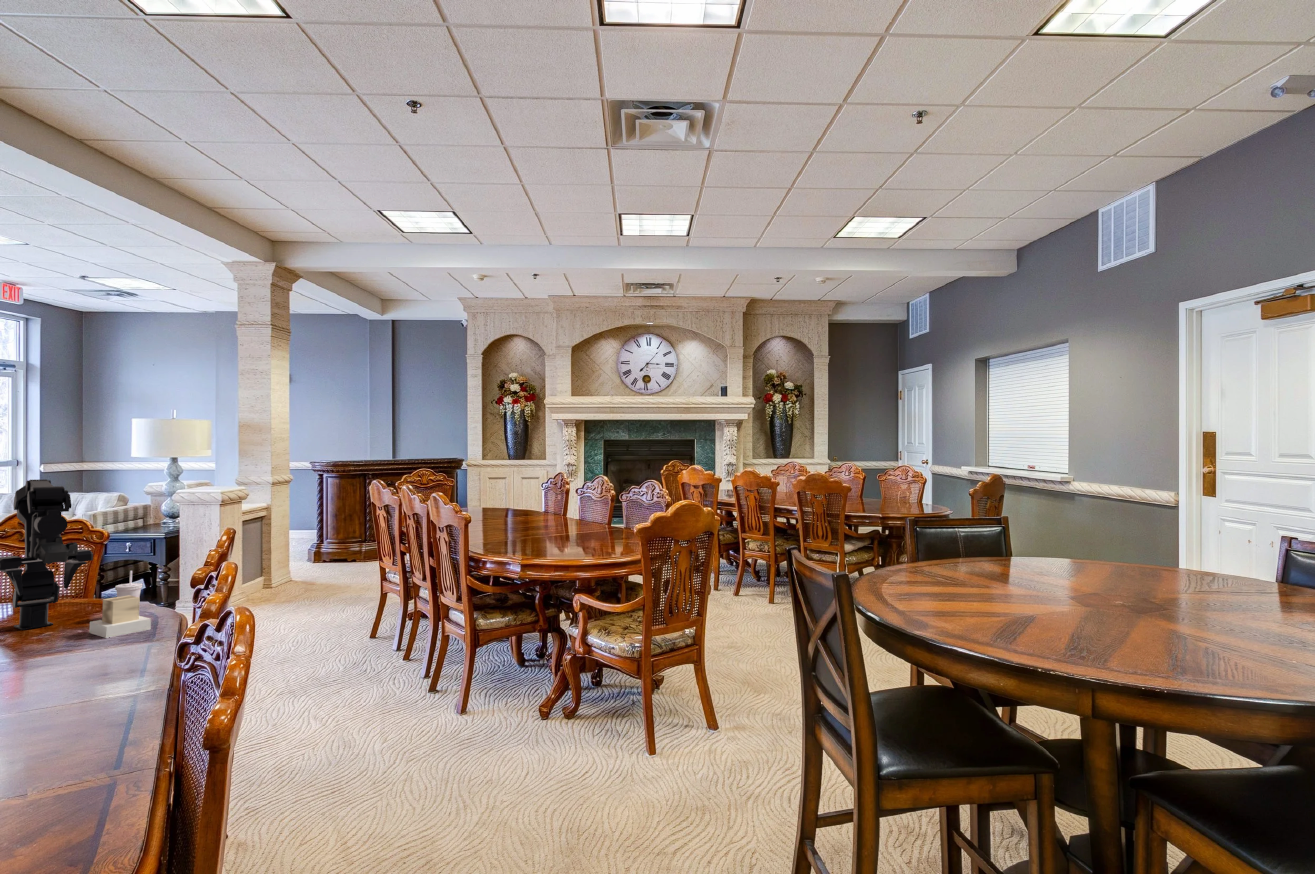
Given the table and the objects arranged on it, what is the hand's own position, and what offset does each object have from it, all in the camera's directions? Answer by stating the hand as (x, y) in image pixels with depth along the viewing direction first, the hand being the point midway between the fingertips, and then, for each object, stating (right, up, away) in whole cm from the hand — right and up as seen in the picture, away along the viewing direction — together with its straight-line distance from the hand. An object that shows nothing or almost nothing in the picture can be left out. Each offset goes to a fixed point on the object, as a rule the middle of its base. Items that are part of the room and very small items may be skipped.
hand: (43, 591), depth 169 cm
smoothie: (+5, -13, +20) cm, 25 cm away
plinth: (+16, -12, +6) cm, 21 cm away
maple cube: (+16, -9, +6) cm, 19 cm away
